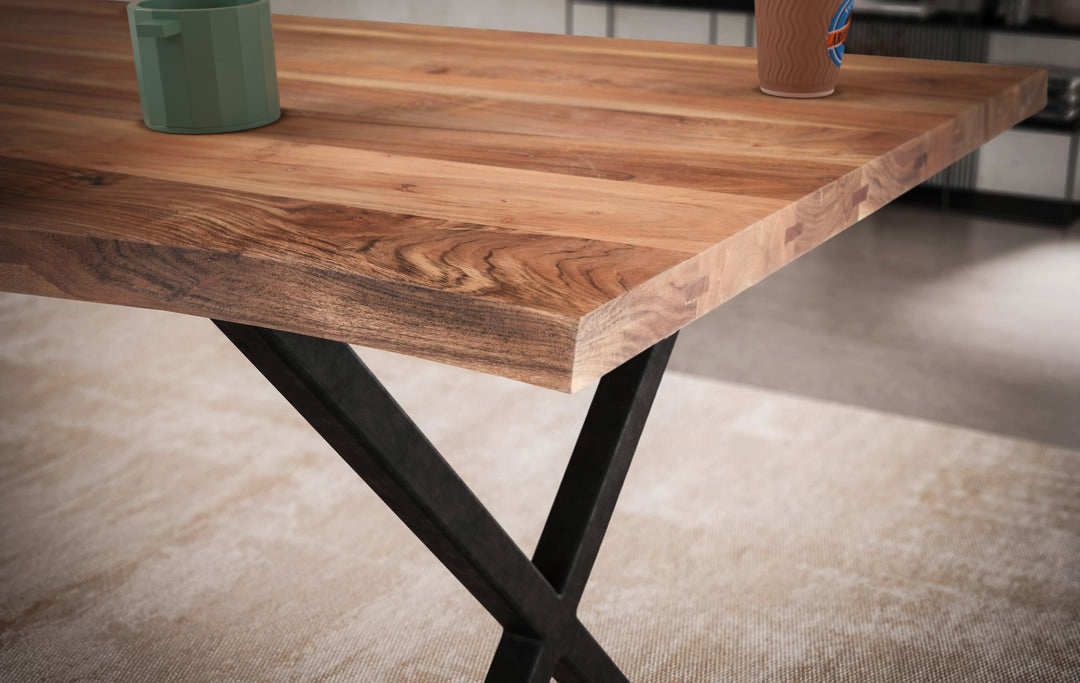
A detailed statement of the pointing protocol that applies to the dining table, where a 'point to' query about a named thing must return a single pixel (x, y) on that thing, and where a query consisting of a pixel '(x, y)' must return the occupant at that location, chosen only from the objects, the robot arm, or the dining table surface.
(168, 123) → the pot
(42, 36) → the dining table surface
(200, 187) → the dining table surface
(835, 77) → the coffee cup
